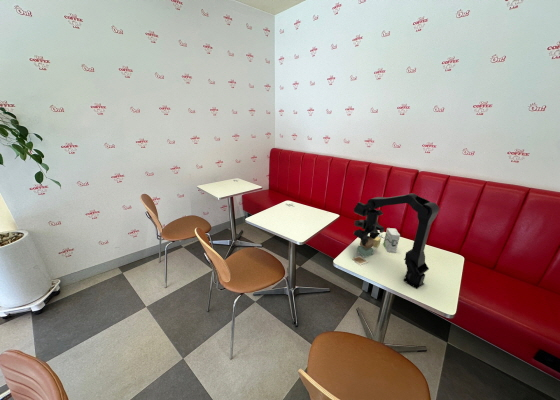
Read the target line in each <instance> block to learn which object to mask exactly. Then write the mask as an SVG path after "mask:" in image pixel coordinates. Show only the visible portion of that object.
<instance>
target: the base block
mask: <svg viewBox="0 0 560 400" xmlns="http://www.w3.org/2000/svg"><path fill="white" fill-rule="evenodd" d="M374 252H375V251H374V247H371V248H369V249H366V248H364V247H363V246H361V245H360V244H359V245H358V246H357V250H356V253H359V254H360V255H361V257H362V256H363V257H364V258H367V257H370V256H372V255H373V254H374Z"/></svg>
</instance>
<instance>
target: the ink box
mask: <svg viewBox="0 0 560 400" xmlns="http://www.w3.org/2000/svg"><path fill="white" fill-rule="evenodd" d="M400 237H401V234H400V233H399V232H398V230H397V228H390V227H387V228H386V232H385V235H384V240H383V243H382V244H383V247H384V248H385V251H386V252H387V253H396V252H397V248H398V246H399V240H400Z"/></svg>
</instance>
